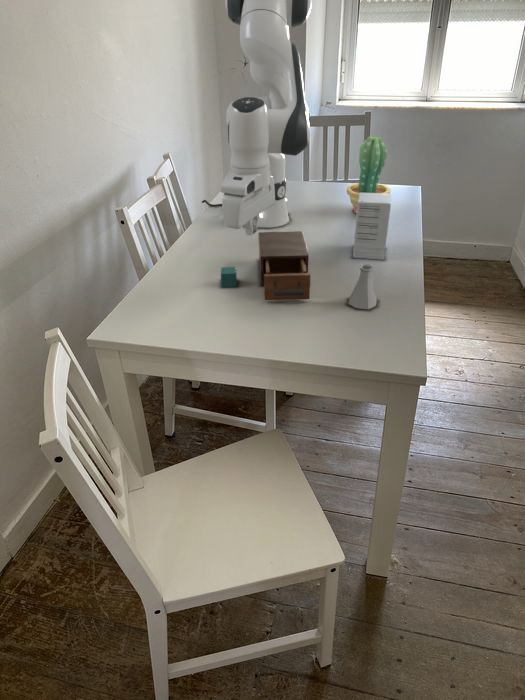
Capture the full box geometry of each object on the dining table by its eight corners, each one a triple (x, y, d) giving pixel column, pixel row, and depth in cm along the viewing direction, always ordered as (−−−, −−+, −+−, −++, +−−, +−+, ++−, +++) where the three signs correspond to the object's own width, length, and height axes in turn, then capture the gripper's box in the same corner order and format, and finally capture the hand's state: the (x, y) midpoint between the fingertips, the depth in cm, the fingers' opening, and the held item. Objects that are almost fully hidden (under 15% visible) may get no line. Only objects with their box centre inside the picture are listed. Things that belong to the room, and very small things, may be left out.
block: (221, 287, 142) (220, 273, 140) (222, 280, 145) (221, 267, 143) (236, 286, 142) (235, 273, 140) (236, 280, 145) (236, 266, 143)
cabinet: (307, 284, 142) (308, 255, 137) (260, 286, 142) (260, 256, 137) (301, 258, 156) (302, 231, 151) (259, 260, 156) (258, 232, 151)
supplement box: (384, 260, 154) (391, 203, 145) (352, 258, 156) (357, 202, 146) (384, 247, 162) (391, 192, 153) (354, 245, 164) (359, 191, 154)
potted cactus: (392, 207, 192) (402, 134, 178) (382, 221, 180) (391, 144, 166) (351, 201, 197) (357, 130, 183) (338, 215, 186) (344, 140, 172)
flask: (370, 312, 130) (374, 276, 124) (343, 305, 133) (346, 269, 127) (381, 300, 135) (385, 264, 129) (355, 293, 138) (358, 258, 132)
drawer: (311, 310, 129) (313, 285, 125) (265, 311, 129) (265, 287, 125) (303, 272, 147) (304, 249, 143) (262, 273, 146) (262, 250, 143)
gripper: (258, 163, 131) (259, 217, 138) (216, 187, 116) (219, 246, 123) (281, 166, 128) (281, 221, 136) (241, 191, 113) (243, 251, 121)
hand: (251, 233), depth 130 cm, fingers closed
